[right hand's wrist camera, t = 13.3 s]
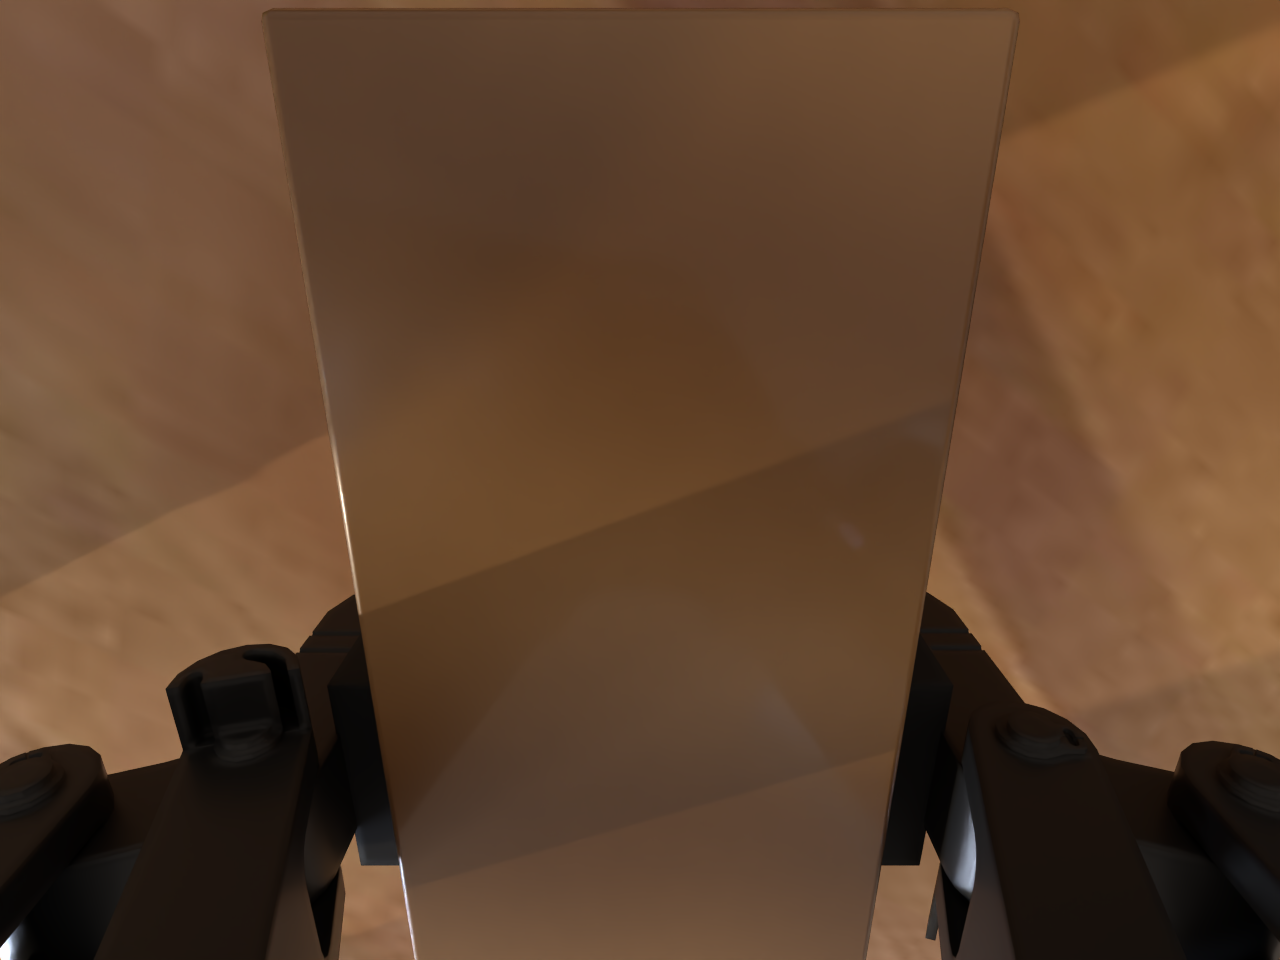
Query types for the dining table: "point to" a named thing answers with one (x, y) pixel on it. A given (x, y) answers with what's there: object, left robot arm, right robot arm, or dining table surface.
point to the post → (640, 443)
